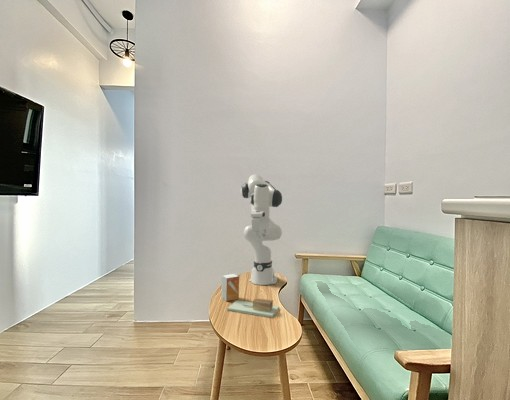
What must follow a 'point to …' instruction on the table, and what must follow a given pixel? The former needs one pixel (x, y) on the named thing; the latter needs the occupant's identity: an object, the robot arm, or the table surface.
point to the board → (251, 309)
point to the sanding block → (263, 304)
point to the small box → (230, 287)
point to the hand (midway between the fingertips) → (261, 237)
